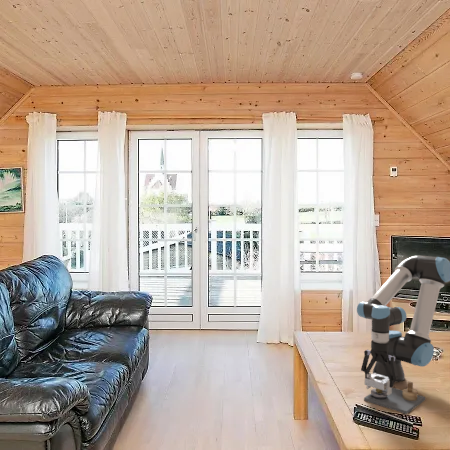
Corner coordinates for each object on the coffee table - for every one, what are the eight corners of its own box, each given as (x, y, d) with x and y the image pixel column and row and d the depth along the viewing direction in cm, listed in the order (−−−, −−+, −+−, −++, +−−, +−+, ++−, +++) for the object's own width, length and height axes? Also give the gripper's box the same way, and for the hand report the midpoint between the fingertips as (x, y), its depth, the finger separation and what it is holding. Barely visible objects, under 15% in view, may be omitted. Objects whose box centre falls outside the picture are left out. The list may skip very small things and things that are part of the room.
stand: (405, 394, 206) (406, 378, 205) (419, 398, 201) (419, 382, 201) (400, 398, 201) (400, 382, 201) (413, 402, 197) (414, 386, 197)
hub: (375, 391, 208) (375, 378, 208) (390, 396, 203) (390, 383, 203) (367, 396, 203) (368, 383, 203) (382, 401, 198) (383, 387, 198)
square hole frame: (374, 379, 209) (374, 373, 209) (393, 384, 203) (393, 378, 203) (364, 384, 203) (364, 378, 203) (384, 390, 196) (384, 383, 196)
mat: (384, 387, 216) (384, 385, 216) (425, 399, 203) (425, 397, 203) (364, 400, 202) (364, 397, 202) (406, 414, 188) (406, 411, 188)
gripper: (353, 337, 207) (352, 386, 208) (400, 348, 192) (399, 400, 193) (361, 334, 212) (360, 381, 213) (407, 344, 197) (406, 395, 198)
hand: (378, 390), depth 203 cm, fingers closed on square hole frame, 9 cm apart
